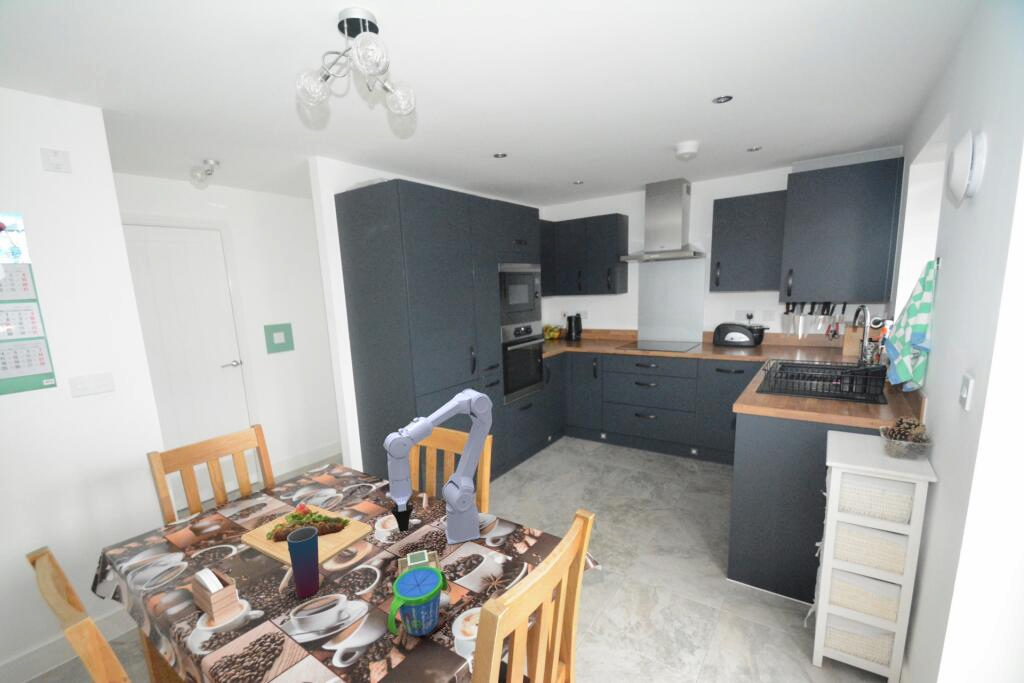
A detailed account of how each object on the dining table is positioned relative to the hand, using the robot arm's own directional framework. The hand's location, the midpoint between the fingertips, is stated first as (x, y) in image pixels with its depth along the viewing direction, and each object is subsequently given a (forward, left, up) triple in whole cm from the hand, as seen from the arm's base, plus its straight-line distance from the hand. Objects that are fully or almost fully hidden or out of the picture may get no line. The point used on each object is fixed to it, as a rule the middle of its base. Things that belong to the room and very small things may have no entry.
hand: (403, 523), depth 115 cm
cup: (+24, +6, -10) cm, 27 cm away
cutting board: (+29, -22, -10) cm, 37 cm away
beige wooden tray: (-3, +11, -9) cm, 15 cm away
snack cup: (-2, +27, -10) cm, 29 cm away
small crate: (-3, +11, -9) cm, 14 cm away
